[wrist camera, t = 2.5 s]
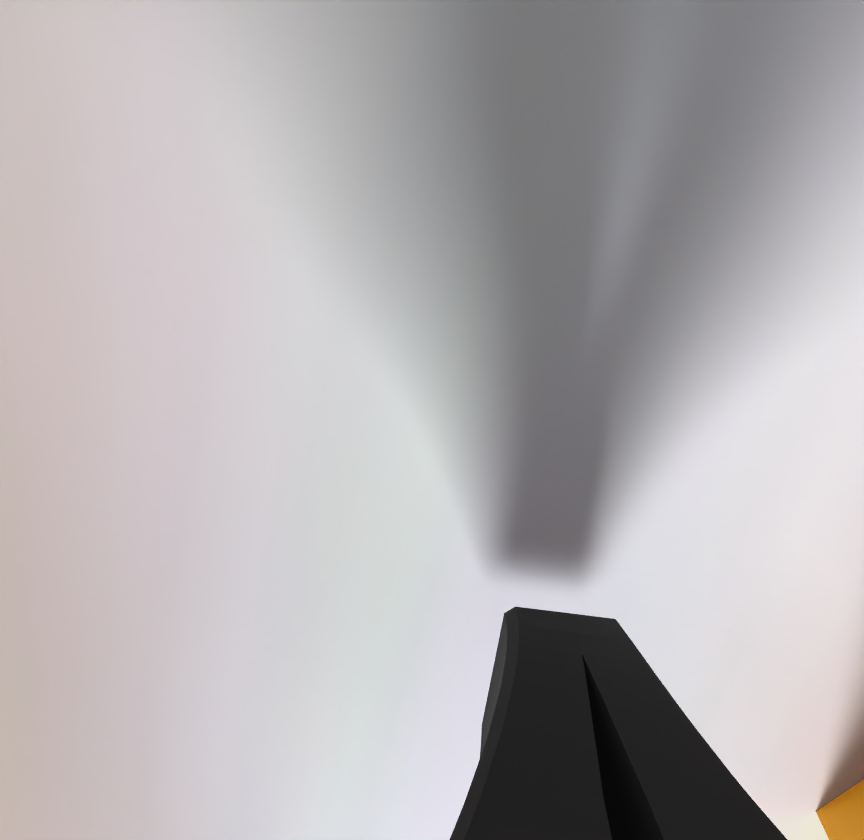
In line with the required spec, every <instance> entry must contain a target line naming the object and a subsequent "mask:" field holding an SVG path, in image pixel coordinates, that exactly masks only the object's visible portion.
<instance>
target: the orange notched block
mask: <svg viewBox="0 0 864 840" xmlns="http://www.w3.org/2000/svg"><path fill="white" fill-rule="evenodd" d="M816 813H817V815H818V817H819V819H820V821H821V823H822V825H823V827H824V829H825V831H826V833H827V836H828V838H829V840H864V779H863V780H862V781H860V782H859V783H857V784H856V785H854V786H853V787H851V788H850V789H848V790H847V791H845V792H844V793H843V794H841V795H840V796H838V797H837V798H835V799H834V800H832V801H831V802H829V803H828V804H826V805H825V806H823V807H822V808H820V809H819V810H817V811H816Z"/></svg>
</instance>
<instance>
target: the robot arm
mask: <svg viewBox="0 0 864 840" xmlns="http://www.w3.org/2000/svg"><path fill="white" fill-rule="evenodd" d="M450 840H787V839H786V838H785V837H784V835H783V834H782V833H781V832H780V831H779V830H778V828H777V827H776V826H775V825H774V824H773V823H772V822H771V820H770V819H769V818H768V817H767V816H766V815H765V813H764V812H763V811H762V810H761V809H760V808H759V807H758V805H757V804H756V803H755V802H754V801H753V800H752V798H751V797H750V796H749V795H748V794H747V792H746V791H745V790H744V789H743V788H742V786H741V785H740V784H739V783H738V782H737V780H736V779H735V778H734V777H733V775H732V774H731V773H730V772H729V770H728V769H727V768H726V767H725V765H724V764H723V763H722V761H721V760H720V759H719V758H718V756H717V755H716V754H715V753H714V751H713V750H712V749H711V747H710V746H709V745H708V744H707V742H706V741H705V740H704V738H703V737H702V736H701V735H700V733H699V732H698V731H697V730H696V728H695V727H694V726H693V724H692V723H691V722H690V720H689V719H688V718H687V716H686V715H685V714H684V712H683V711H682V710H681V708H680V707H679V706H678V704H677V703H676V702H675V700H674V699H673V697H672V696H671V695H670V693H669V692H668V691H667V689H666V688H665V687H664V685H663V684H662V682H661V681H660V680H659V678H658V677H657V676H656V674H655V673H654V671H653V670H652V669H651V667H650V666H649V664H648V663H647V662H646V660H645V659H644V658H643V656H642V655H641V653H640V652H639V651H638V649H637V648H636V646H635V645H634V644H633V642H632V641H631V640H630V638H629V637H628V635H627V634H626V633H625V631H624V630H623V629H622V627H621V626H620V625H619V623H618V622H617V621H616V619H610V618H602V617H594V616H586V615H578V614H570V613H562V612H554V611H546V610H538V609H530V608H521V607H514V608H512V609H511V610H509V611H507V612H506V613H504V618H503V623H502V628H501V633H500V638H499V643H498V648H497V652H496V657H495V662H494V667H493V672H492V677H491V682H490V687H489V692H488V697H487V702H486V707H485V712H484V717H483V722H482V736H481V752H480V760H479V763H478V766H477V769H476V772H475V775H474V778H473V780H472V783H471V786H470V789H469V792H468V795H467V797H466V800H465V803H464V805H463V808H462V811H461V813H460V816H459V818H458V821H457V823H456V826H455V828H454V831H453V833H452V835H451V838H450Z"/></svg>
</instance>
